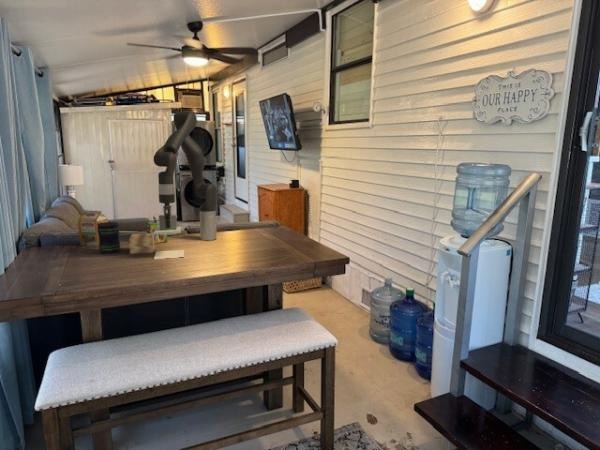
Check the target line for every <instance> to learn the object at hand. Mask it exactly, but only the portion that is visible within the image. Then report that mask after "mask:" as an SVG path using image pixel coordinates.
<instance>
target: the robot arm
mask: <svg viewBox="0 0 600 450" xmlns="http://www.w3.org/2000/svg"><path fill="white" fill-rule="evenodd" d="M197 118H198V117H197V115H196V113H195V112H194V111H192V110H186V111H177V112H175V113H174V114H173V124H174V126H175V129H176V130H175V131H174V132H172V133H171V134H170V135H169V136H168V138H167V139H166V141H165V142H164V145H162V146H161V147H160V148H158V150H157V151H156V152H155V153H154V155H153V162H154V165H156V166H157V167H165V168H166V169H165V170H163V171H160V172H158V177H157V178H158V187H157V188H158V202H159V203H160V204H164V205H162V210H163V215H164V216H165V218H164V219H165V224H166V228H170V220H171V219H170V216H171V215H172V207H173V206H172V205H171V204H174V203H175V202H176V200H175V199H176V194H175V192H176V191H175V185H174V183H175V182H174V175H175V174H174V173H175V170H176V165H177V156H176V154H177V153H178V151H179V150H180V148H181V146H182V147H183V150H184V153H185V157H186V159H187V163H188V166H189V170H190V174H191V176H192V180H193V187H194V191H195V194H196V196H197V197H198V198H199V199H201V200H202V199H203V200H205V201H204V203H203V204H201V205H200V206H199V228H200V229H199V231H200V236H199V237H200V240H201V241H206V240H209V241H215V240H214V239H217V238H218V237H217V236H218V235H217V214H216V213H217V212H216V211H217V209H216V207H217V203H218V201H217V200H218V190H217V187H216V185H215V184H213V183H206V182H205V179H204V176H203V173H204V169H205V163H206V161H205V156H204V153H203V150H202V148H201V147H200V145H199V144H197V143H196V141H194V139H193V138H192V137H191V136H190V134H191V132H192V131H193V130H194V129H195V128H196V127H197V123H198V119H197ZM166 216H169V217H168V218H166Z"/></svg>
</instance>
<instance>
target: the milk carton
mask: <svg viewBox="0 0 600 450" xmlns="http://www.w3.org/2000/svg"><path fill="white" fill-rule="evenodd" d="M108 219H109V218H108V217H107V215H105V214H104V213H102V210H88V209H87V210H83V211H82V214H81V215H80V216H79V218H78V220H77V222H78V223H77V224H78V226H77V227H78V235H79V245H80V247H95V248H99V235H98V224H99V223H104V222H109V221H108Z"/></svg>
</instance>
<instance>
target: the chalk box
mask: <svg viewBox="0 0 600 450" xmlns="http://www.w3.org/2000/svg"><path fill="white" fill-rule="evenodd" d="M152 218H153V220H152V221H146V232H147V233H146V234H152V233H154V244H160V243H168V235H160V234H155V230H156V227H159V220H157V218H156V217H155V216H152Z"/></svg>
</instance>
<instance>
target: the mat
mask: <svg viewBox="0 0 600 450" xmlns="http://www.w3.org/2000/svg"><path fill="white" fill-rule="evenodd" d="M179 257H184V258H185V249H181V250H180V249H179V250H177V249H176V250H161V251H157V250H156V251H155V254H154V258H153V259H154V260H167V259H166V258H171V259H180V258H179Z"/></svg>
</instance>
